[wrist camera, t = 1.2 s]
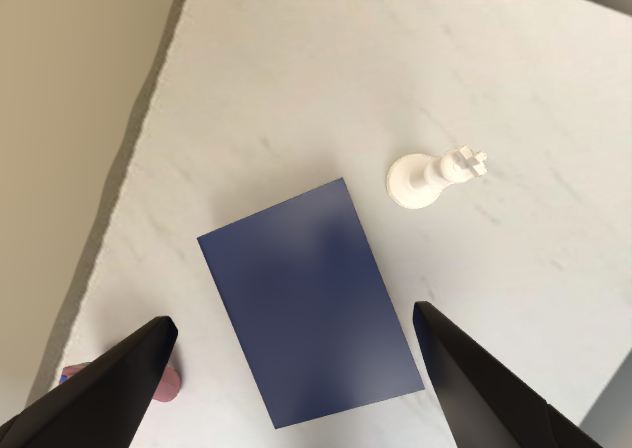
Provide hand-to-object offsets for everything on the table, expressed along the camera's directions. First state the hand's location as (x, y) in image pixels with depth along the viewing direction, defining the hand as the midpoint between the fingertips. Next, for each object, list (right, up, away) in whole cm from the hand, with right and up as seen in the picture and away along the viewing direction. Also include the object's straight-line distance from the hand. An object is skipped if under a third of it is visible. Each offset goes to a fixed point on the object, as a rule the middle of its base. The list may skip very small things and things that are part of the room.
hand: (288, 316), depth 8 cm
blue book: (+1, -4, +14) cm, 15 cm away
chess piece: (+10, +7, +13) cm, 18 cm away
